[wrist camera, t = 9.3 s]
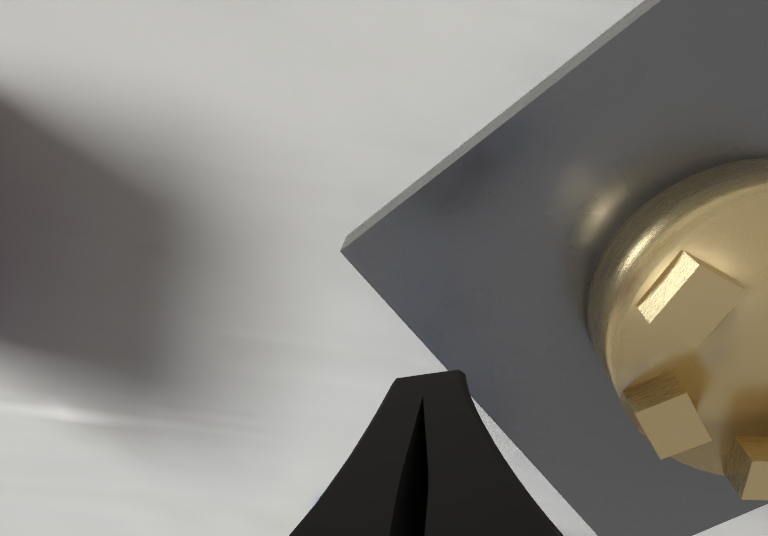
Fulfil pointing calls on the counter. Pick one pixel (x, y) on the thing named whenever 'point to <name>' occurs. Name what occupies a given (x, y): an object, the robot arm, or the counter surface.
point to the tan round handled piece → (693, 322)
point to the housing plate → (574, 247)
